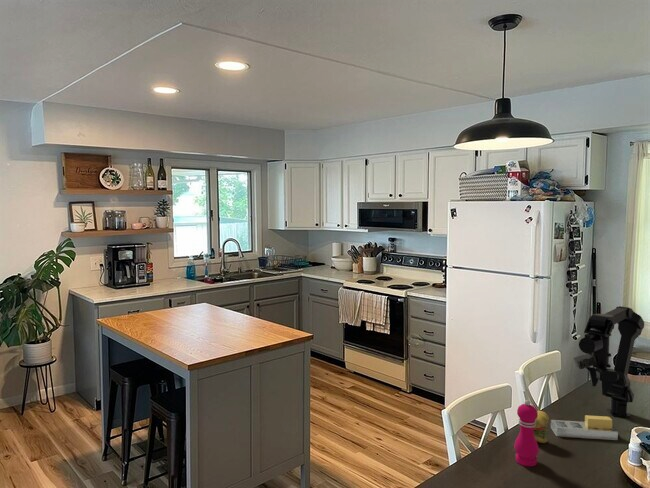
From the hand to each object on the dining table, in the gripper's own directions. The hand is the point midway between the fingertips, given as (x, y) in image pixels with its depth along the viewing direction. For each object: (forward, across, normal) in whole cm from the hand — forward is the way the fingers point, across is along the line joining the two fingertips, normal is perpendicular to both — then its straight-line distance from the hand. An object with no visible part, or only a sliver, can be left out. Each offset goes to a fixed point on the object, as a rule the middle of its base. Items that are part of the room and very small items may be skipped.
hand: (598, 390), depth 183 cm
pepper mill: (+13, +33, -33) cm, 48 cm away
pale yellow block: (+13, +9, -3) cm, 16 cm away
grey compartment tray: (+13, +9, -8) cm, 18 cm away
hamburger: (+13, +18, -26) cm, 34 cm away
